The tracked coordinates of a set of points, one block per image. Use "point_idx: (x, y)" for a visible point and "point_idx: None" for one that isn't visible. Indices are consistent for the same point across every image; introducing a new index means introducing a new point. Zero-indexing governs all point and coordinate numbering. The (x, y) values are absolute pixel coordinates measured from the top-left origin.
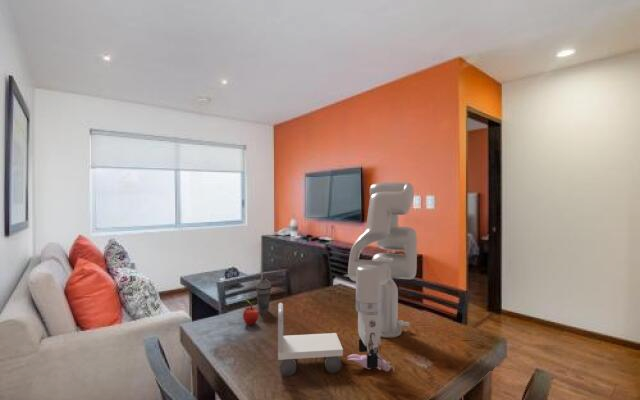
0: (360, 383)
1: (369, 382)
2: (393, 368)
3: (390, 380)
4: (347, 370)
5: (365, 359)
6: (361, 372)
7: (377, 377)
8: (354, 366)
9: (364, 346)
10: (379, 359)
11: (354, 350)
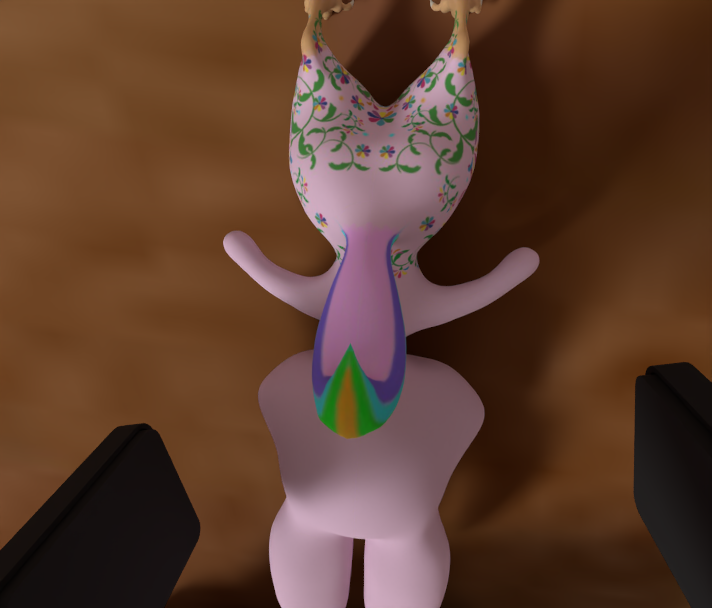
0: None
1: None
2: (470, 7)
3: (705, 107)
4: None
5: (429, 503)
6: (472, 443)
7: (597, 286)
8: None
9: (131, 546)
10: (241, 234)
11: (28, 451)
